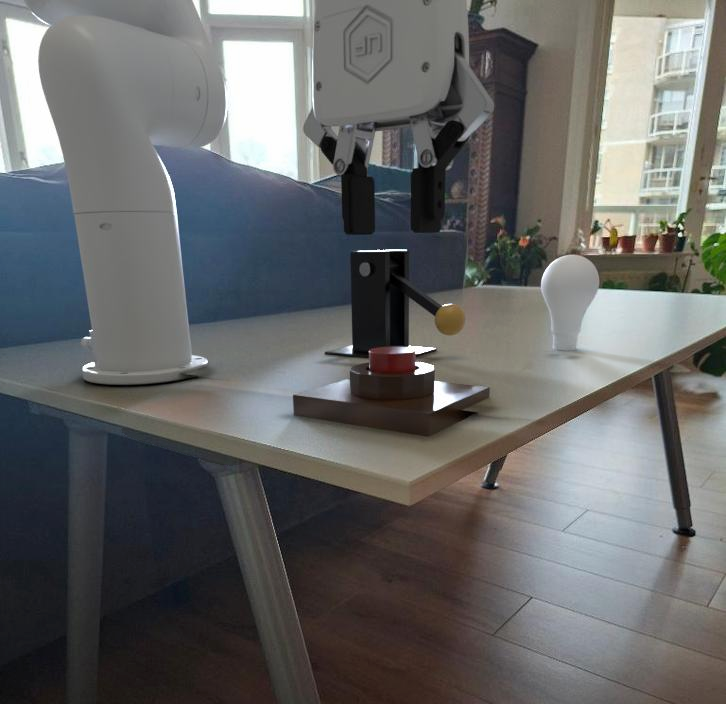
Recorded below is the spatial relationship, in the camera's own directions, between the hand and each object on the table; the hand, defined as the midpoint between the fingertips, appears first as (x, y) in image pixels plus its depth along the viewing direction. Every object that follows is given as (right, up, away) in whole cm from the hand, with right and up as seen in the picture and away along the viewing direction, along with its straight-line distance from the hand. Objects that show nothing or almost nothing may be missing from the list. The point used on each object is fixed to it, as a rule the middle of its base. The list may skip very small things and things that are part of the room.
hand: (391, 230), depth 48 cm
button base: (0, -13, +5) cm, 13 cm away
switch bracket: (0, -4, +28) cm, 28 cm away
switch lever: (+3, +1, +23) cm, 24 cm away
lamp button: (0, -10, +3) cm, 10 cm away
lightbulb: (+21, -4, +28) cm, 35 cm away
